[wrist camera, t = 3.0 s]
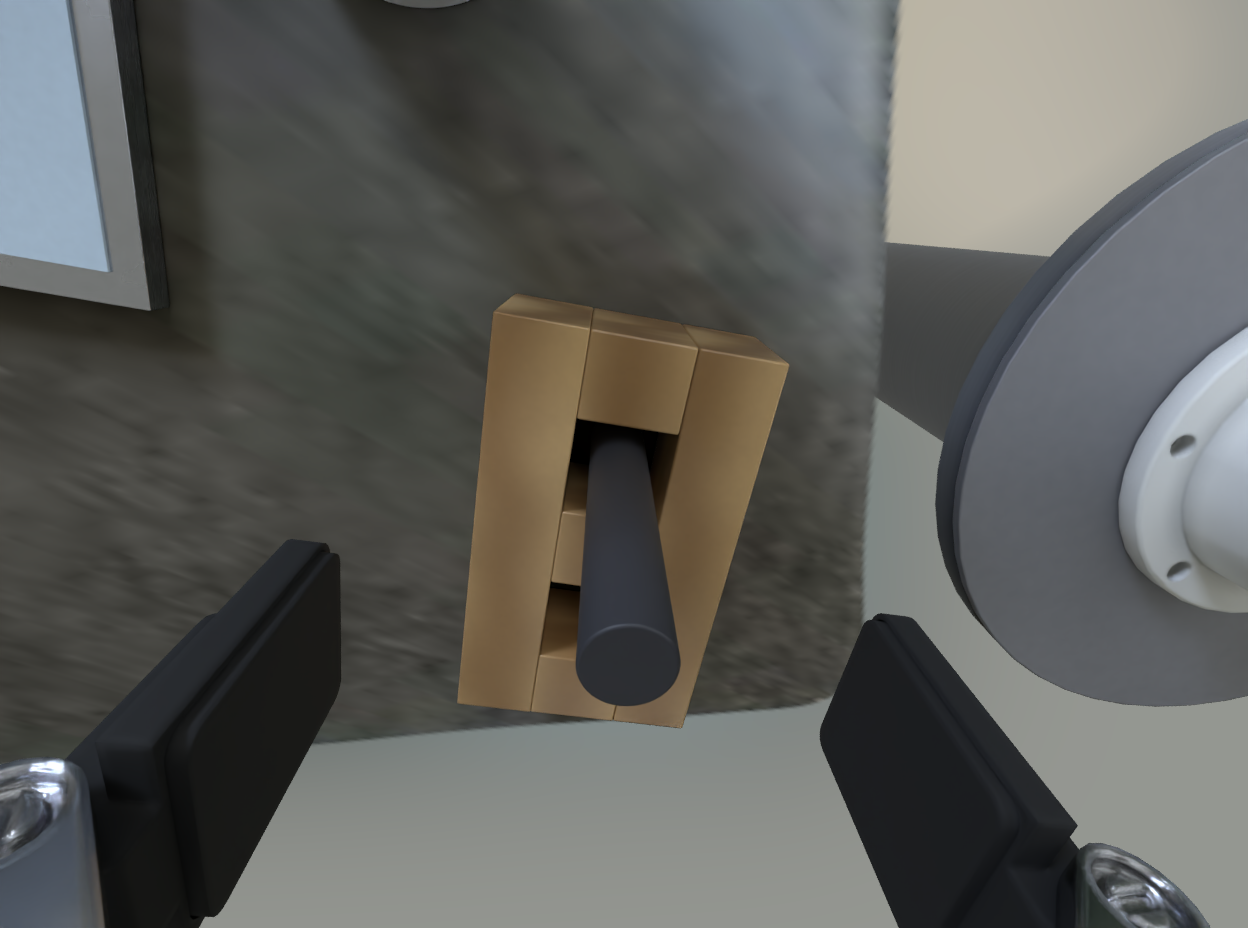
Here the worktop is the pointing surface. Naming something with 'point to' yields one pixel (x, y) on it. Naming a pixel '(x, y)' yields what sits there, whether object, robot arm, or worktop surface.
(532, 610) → the holder
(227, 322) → the worktop surface
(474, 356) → the worktop surface
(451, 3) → the cup
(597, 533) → the stylus
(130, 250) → the tablet
